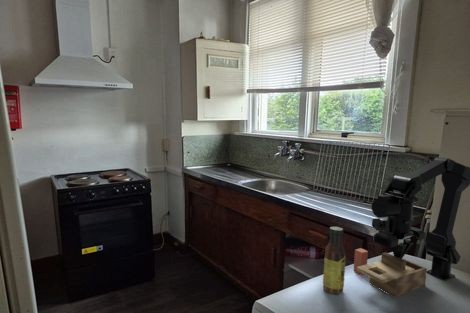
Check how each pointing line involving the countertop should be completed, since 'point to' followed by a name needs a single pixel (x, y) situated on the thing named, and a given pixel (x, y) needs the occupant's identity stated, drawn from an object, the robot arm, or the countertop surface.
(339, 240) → the sauce bottle
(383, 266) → the lid
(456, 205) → the robot arm
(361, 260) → the block
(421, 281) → the wooden box
